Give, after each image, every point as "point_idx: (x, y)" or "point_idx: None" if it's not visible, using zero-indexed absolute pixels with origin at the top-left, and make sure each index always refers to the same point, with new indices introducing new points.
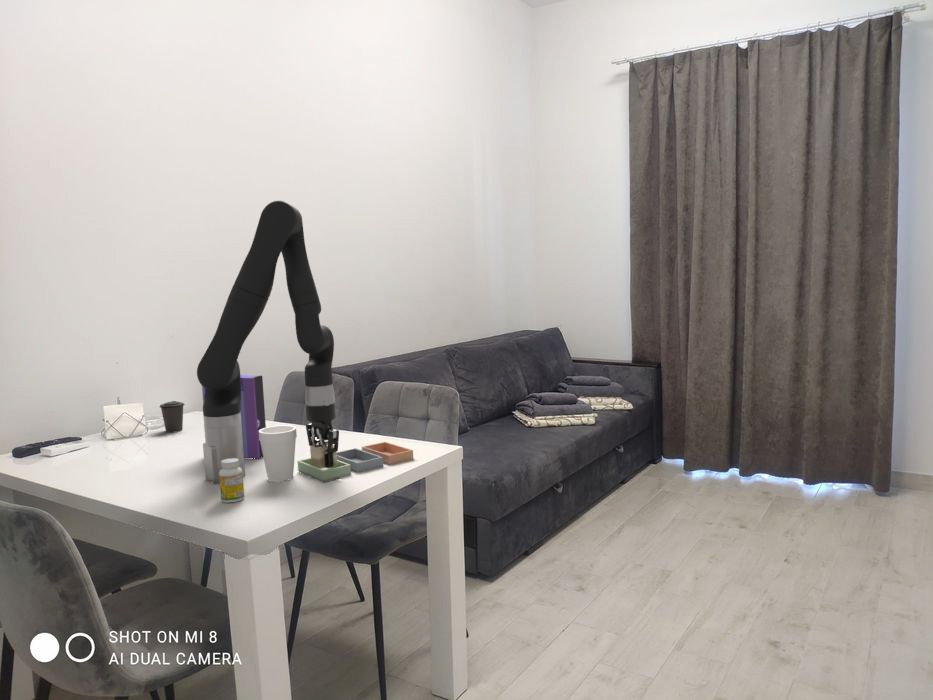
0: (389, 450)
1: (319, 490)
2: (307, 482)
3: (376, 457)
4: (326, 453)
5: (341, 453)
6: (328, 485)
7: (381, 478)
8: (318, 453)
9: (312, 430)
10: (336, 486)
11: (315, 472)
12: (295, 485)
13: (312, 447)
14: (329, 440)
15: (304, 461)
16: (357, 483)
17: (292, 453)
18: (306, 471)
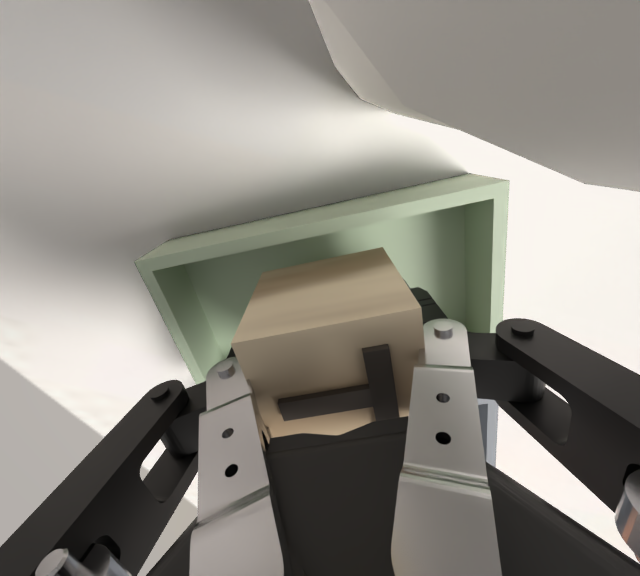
0: None
1: (30, 179)
2: (217, 161)
3: None
4: (215, 366)
5: (482, 431)
6: (113, 247)
7: None
8: (257, 318)
9: (459, 524)
10: (82, 275)
11: (244, 231)
12: (184, 69)
13: (369, 317)
14: (59, 504)
15: (486, 229)
16: (102, 359)
17: (347, 57)
18: (363, 201)
